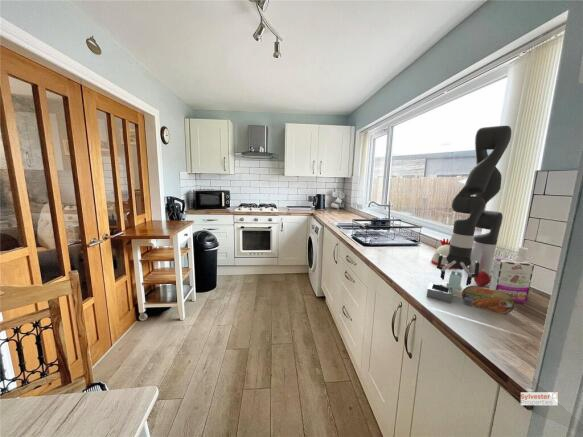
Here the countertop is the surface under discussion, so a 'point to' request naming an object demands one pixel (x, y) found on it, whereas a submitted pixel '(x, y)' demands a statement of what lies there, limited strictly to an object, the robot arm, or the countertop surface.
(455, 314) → the countertop surface
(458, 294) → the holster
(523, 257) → the bath foam
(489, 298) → the tin
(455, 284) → the plug
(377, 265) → the countertop surface
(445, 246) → the white dome
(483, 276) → the onion
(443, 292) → the block
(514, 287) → the candy bar box
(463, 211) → the robot arm
